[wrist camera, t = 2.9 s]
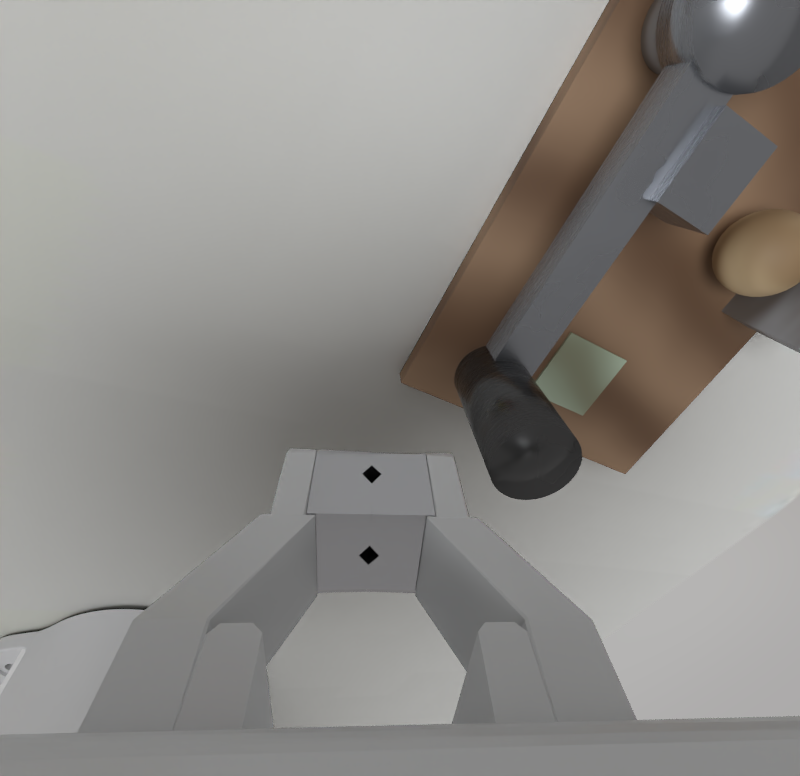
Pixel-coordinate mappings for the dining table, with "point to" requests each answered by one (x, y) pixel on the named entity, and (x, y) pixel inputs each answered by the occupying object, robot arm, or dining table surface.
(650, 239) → the cracker base
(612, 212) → the lever
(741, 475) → the dining table surface
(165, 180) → the dining table surface
